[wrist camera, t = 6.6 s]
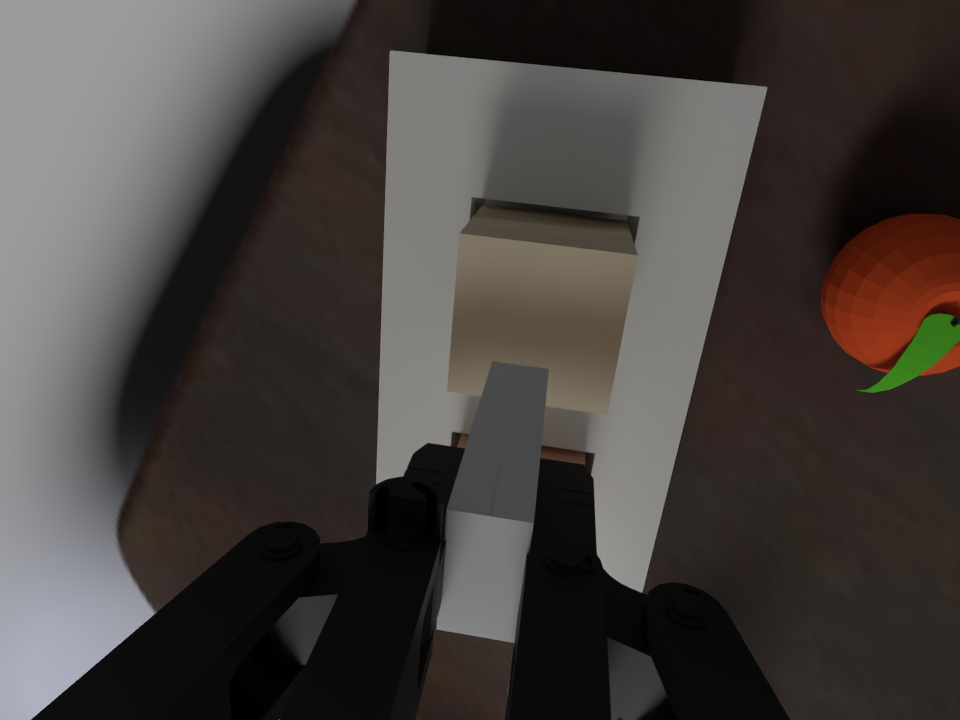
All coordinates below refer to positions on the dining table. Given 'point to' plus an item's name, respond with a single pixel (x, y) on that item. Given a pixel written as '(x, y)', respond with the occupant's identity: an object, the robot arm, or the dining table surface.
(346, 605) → the robot arm
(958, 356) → the clementine
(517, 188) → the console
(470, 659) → the dining table surface
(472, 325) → the beige cube
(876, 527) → the dining table surface
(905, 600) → the dining table surface
